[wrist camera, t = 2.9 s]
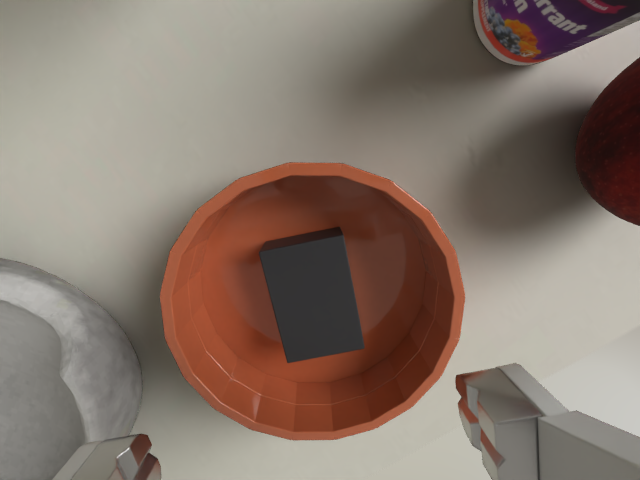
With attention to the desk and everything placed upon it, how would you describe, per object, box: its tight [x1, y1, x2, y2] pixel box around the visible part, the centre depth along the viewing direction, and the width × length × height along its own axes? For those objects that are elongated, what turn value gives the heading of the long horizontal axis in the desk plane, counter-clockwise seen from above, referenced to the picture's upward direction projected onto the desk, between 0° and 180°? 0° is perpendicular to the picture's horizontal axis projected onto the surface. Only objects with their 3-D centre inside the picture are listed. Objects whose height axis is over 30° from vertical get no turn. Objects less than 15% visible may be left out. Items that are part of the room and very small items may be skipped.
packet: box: [259, 227, 365, 363], centre depth 16 cm, size 6×4×2 cm, turn 11°
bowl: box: [160, 162, 465, 440], centre depth 15 cm, size 13×13×4 cm
